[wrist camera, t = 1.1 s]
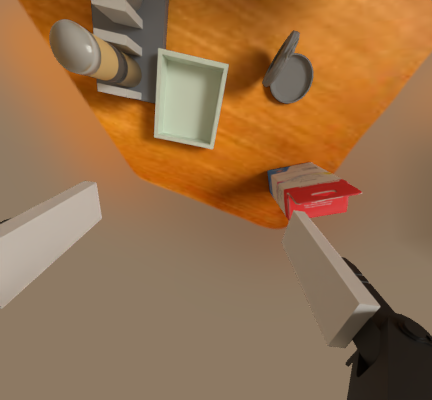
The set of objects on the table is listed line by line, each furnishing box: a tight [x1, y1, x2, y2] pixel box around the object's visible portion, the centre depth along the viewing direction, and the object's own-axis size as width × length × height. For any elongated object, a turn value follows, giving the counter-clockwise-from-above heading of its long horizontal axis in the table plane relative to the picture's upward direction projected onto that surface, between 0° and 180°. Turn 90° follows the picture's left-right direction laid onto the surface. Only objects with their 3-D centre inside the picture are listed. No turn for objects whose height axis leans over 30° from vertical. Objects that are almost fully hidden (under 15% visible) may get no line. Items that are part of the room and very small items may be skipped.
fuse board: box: [91, 0, 169, 104], centre depth 25 cm, size 16×10×6 cm, turn 169°
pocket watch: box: [262, 31, 313, 104], centre depth 25 cm, size 8×8×10 cm
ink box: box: [268, 162, 362, 221], centre depth 30 cm, size 8×5×15 cm, turn 102°
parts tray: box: [154, 48, 229, 149], centre depth 30 cm, size 12×10×4 cm
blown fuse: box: [50, 19, 142, 88], centre depth 23 cm, size 4×4×12 cm
